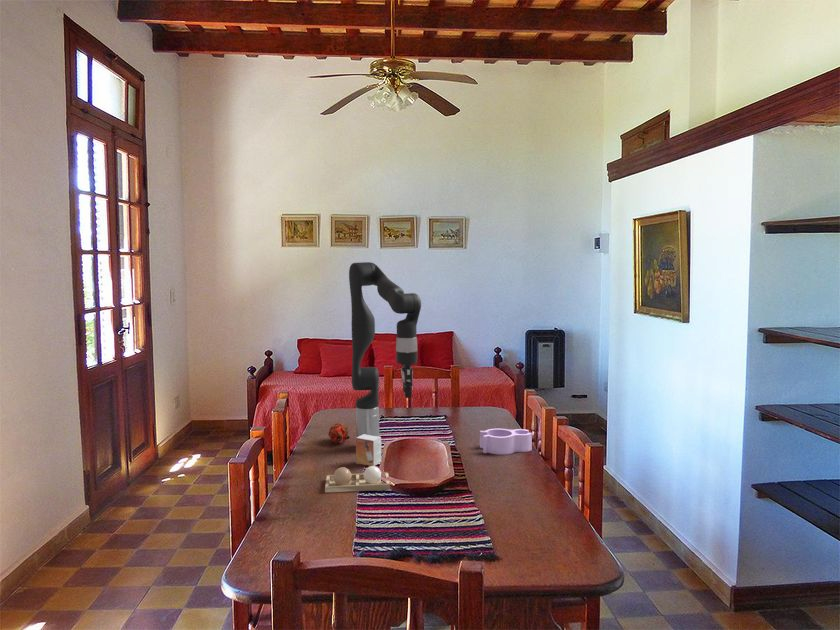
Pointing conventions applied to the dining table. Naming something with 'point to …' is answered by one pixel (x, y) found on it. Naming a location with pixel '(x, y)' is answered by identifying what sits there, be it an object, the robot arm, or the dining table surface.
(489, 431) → the lavender double cup holder
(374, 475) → the white ball
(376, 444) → the small box
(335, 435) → the dragon fruit
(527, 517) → the dining table surface
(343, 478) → the beige ball
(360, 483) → the beige divided tray
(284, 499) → the dining table surface
